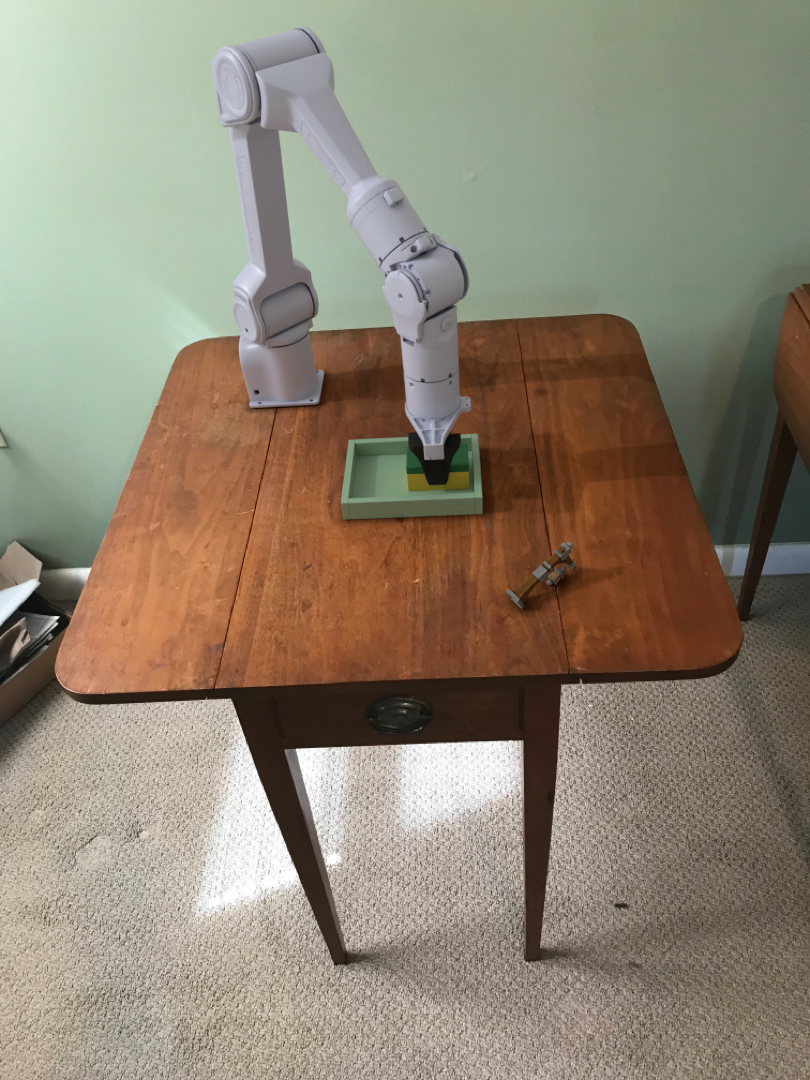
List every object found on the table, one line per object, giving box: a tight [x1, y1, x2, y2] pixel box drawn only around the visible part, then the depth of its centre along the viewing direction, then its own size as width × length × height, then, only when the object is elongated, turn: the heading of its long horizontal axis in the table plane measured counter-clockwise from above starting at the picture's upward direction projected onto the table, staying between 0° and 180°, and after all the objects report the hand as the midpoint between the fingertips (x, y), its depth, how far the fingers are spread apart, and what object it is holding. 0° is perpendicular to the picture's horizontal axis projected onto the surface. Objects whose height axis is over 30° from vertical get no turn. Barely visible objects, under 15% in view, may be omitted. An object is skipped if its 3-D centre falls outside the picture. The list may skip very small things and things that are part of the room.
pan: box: [340, 433, 484, 521], centre depth 89 cm, size 16×12×2 cm
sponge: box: [406, 443, 469, 491], centre depth 88 cm, size 7×4×4 cm, turn 89°
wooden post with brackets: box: [505, 541, 577, 610], centre depth 76 cm, size 2×8×4 cm, turn 124°
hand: (437, 470), depth 89 cm, fingers closed on sponge, 4 cm apart
